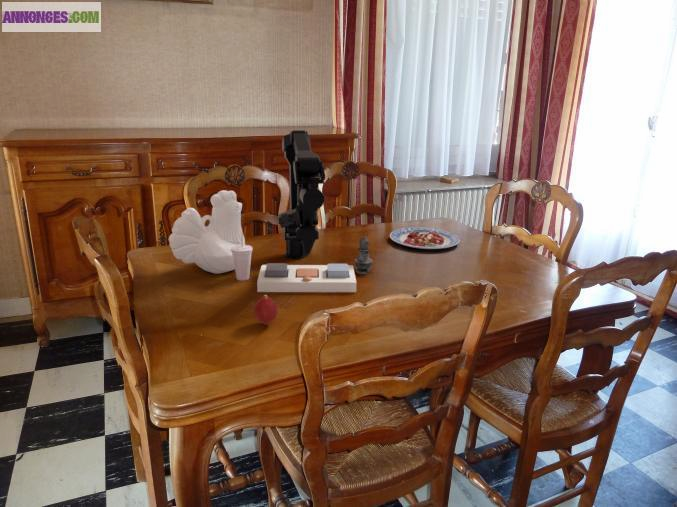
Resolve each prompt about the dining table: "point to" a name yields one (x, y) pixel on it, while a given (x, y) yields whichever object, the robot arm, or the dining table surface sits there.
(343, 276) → the blue key
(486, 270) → the dining table surface
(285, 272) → the charcoal key
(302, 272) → the terracotta key
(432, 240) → the ceramic plate
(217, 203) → the decorative rooster
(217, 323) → the dining table surface
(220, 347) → the dining table surface
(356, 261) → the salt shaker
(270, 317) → the onion
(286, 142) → the robot arm
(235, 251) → the smoothie
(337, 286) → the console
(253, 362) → the dining table surface
